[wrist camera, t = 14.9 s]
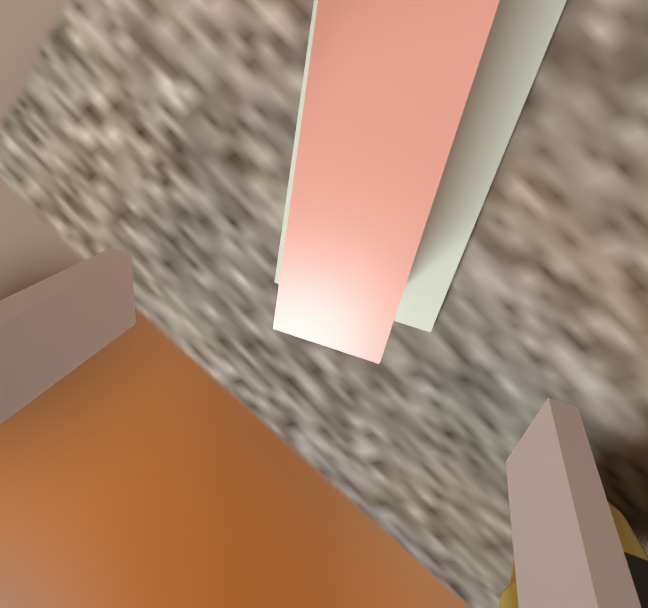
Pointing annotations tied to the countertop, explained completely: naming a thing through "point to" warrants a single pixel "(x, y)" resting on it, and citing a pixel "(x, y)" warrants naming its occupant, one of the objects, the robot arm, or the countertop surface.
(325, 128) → the long pink block
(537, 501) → the robot arm
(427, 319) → the pale green flat board
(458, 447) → the countertop surface
